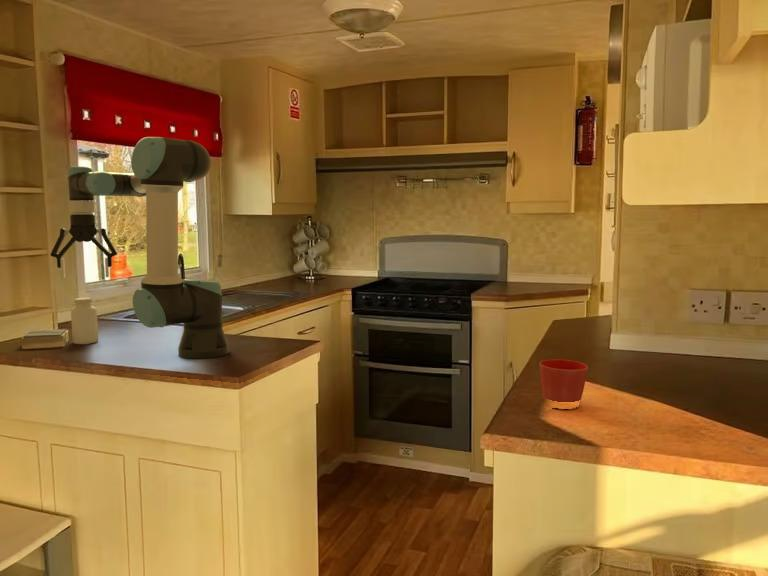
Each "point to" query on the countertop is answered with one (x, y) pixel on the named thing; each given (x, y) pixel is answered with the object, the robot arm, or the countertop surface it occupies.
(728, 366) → the countertop surface
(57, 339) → the stand
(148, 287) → the robot arm
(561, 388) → the flower pot
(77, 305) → the pill bottle
